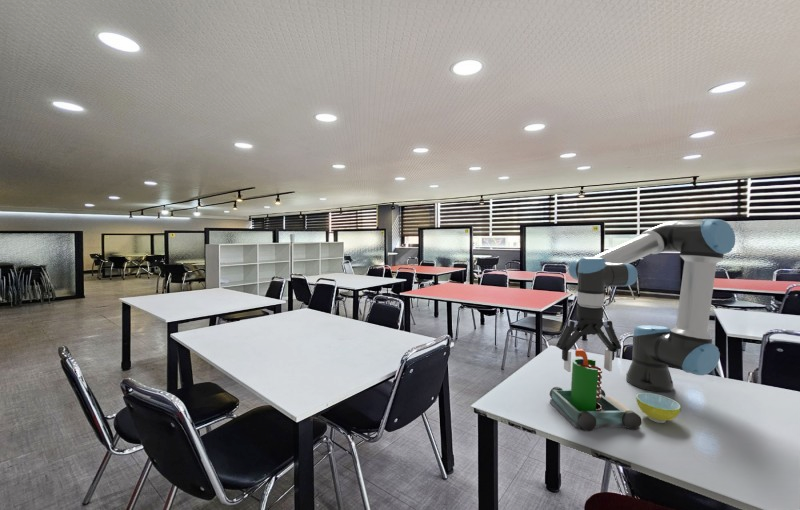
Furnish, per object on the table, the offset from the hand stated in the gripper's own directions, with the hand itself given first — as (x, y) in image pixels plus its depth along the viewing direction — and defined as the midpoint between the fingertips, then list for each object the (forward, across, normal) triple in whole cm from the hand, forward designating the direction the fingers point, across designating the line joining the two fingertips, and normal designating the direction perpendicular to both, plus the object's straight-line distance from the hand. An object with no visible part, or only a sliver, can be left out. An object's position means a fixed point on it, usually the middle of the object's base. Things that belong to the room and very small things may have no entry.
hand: (587, 370), depth 113 cm
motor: (+14, 0, 0) cm, 14 cm away
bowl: (+15, -21, +4) cm, 26 cm away
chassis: (+15, -2, 0) cm, 15 cm away
